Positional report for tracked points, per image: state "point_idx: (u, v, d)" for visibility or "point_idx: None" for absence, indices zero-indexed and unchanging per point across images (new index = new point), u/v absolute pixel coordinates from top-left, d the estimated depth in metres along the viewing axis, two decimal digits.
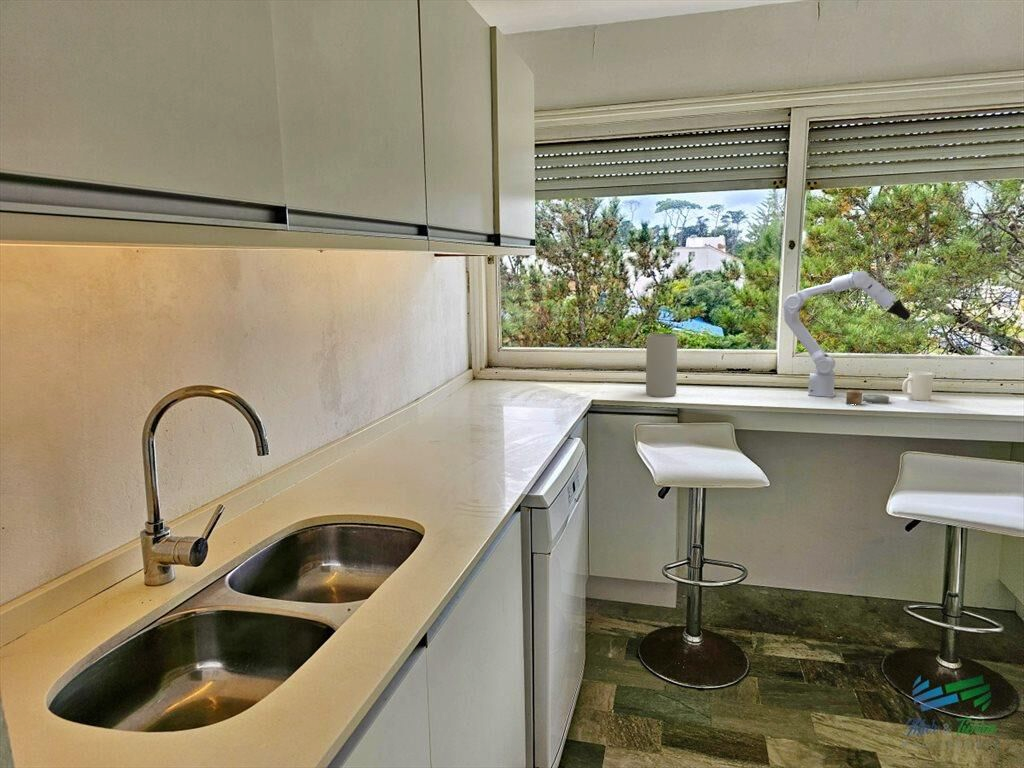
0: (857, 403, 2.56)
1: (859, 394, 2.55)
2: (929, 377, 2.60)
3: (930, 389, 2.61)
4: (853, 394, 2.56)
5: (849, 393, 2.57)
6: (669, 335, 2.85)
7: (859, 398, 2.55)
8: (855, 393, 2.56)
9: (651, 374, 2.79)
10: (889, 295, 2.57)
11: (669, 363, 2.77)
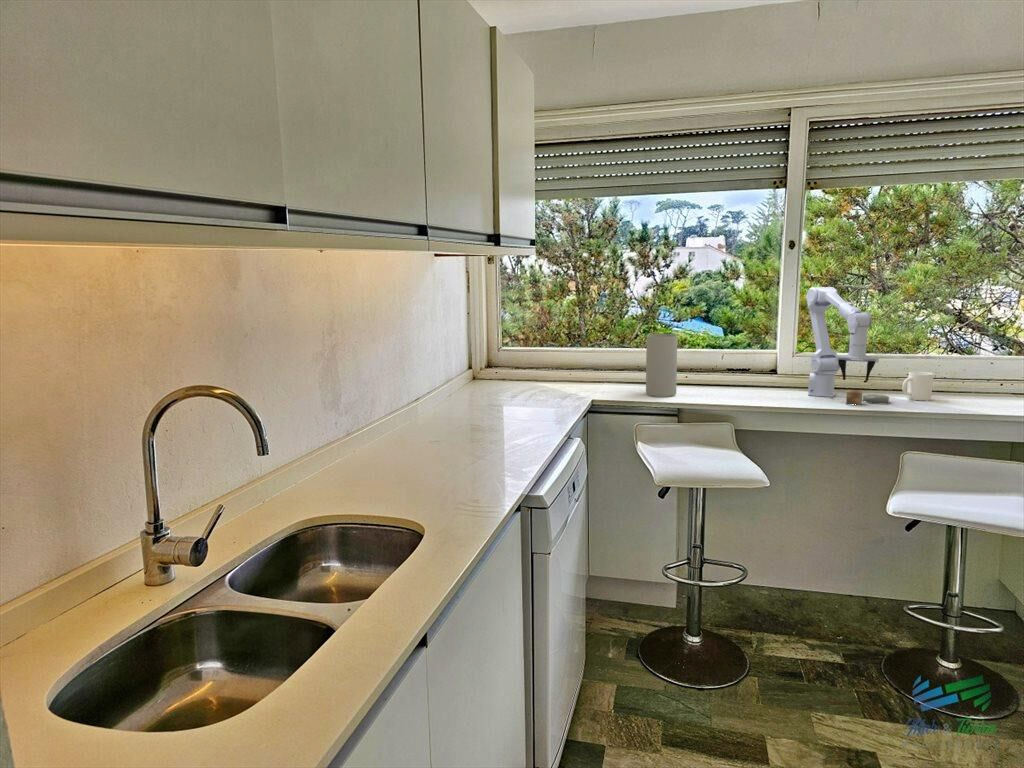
0: (857, 403, 2.56)
1: (859, 394, 2.55)
2: (929, 377, 2.60)
3: (930, 389, 2.61)
4: (853, 394, 2.56)
5: (849, 393, 2.57)
6: (669, 335, 2.85)
7: (859, 398, 2.55)
8: (855, 393, 2.56)
9: (651, 374, 2.79)
10: (850, 353, 2.55)
11: (669, 363, 2.77)
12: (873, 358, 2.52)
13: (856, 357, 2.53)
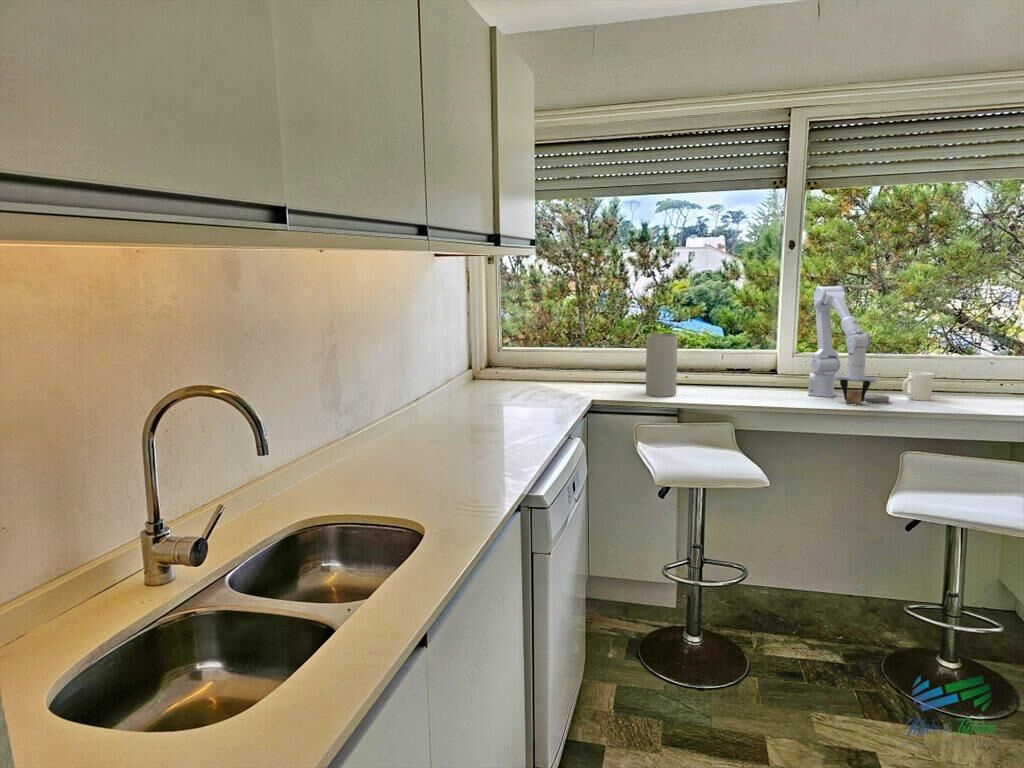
0: (857, 403, 2.56)
1: (859, 394, 2.55)
2: (929, 377, 2.60)
3: (930, 389, 2.61)
4: (853, 393, 2.56)
5: (849, 393, 2.57)
6: (669, 335, 2.85)
7: (859, 398, 2.55)
8: (855, 393, 2.56)
9: (651, 374, 2.79)
10: (849, 373, 2.56)
11: (669, 363, 2.77)
12: (872, 378, 2.53)
13: (855, 377, 2.54)
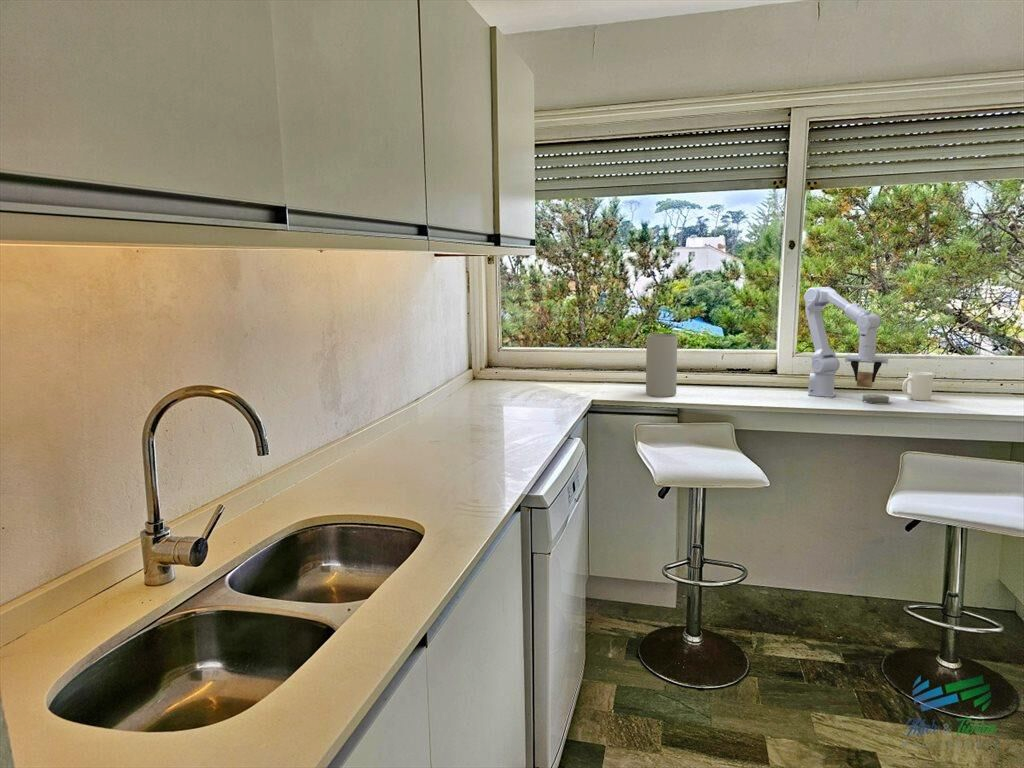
0: (868, 385, 2.56)
1: (870, 376, 2.55)
2: (929, 377, 2.60)
3: (930, 389, 2.61)
4: (864, 375, 2.56)
5: (860, 375, 2.57)
6: (669, 335, 2.85)
7: (870, 380, 2.55)
8: (866, 375, 2.56)
9: (651, 374, 2.79)
10: (860, 354, 2.56)
11: (669, 363, 2.77)
12: (883, 359, 2.53)
13: (865, 358, 2.54)
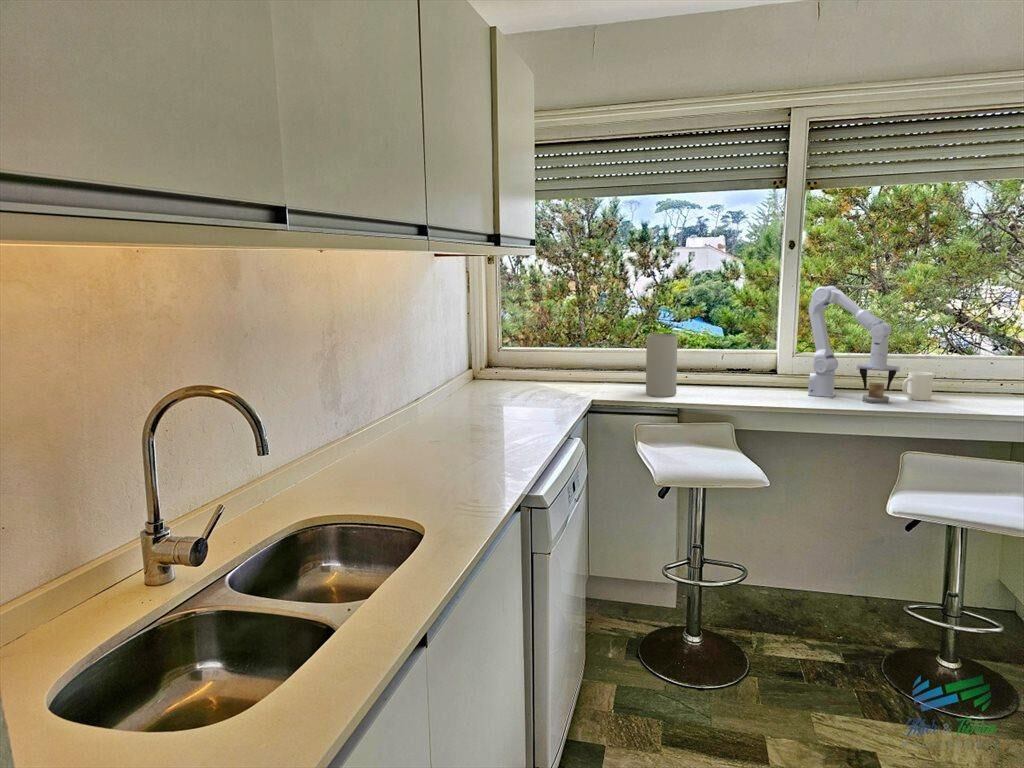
0: (879, 395, 2.59)
1: (882, 386, 2.58)
2: (929, 377, 2.60)
3: (930, 389, 2.61)
4: (876, 386, 2.59)
5: (871, 386, 2.59)
6: (669, 335, 2.85)
7: (881, 390, 2.58)
8: (877, 385, 2.58)
9: (651, 374, 2.79)
10: (872, 362, 2.59)
11: (669, 363, 2.77)
12: (894, 367, 2.56)
13: (877, 366, 2.57)
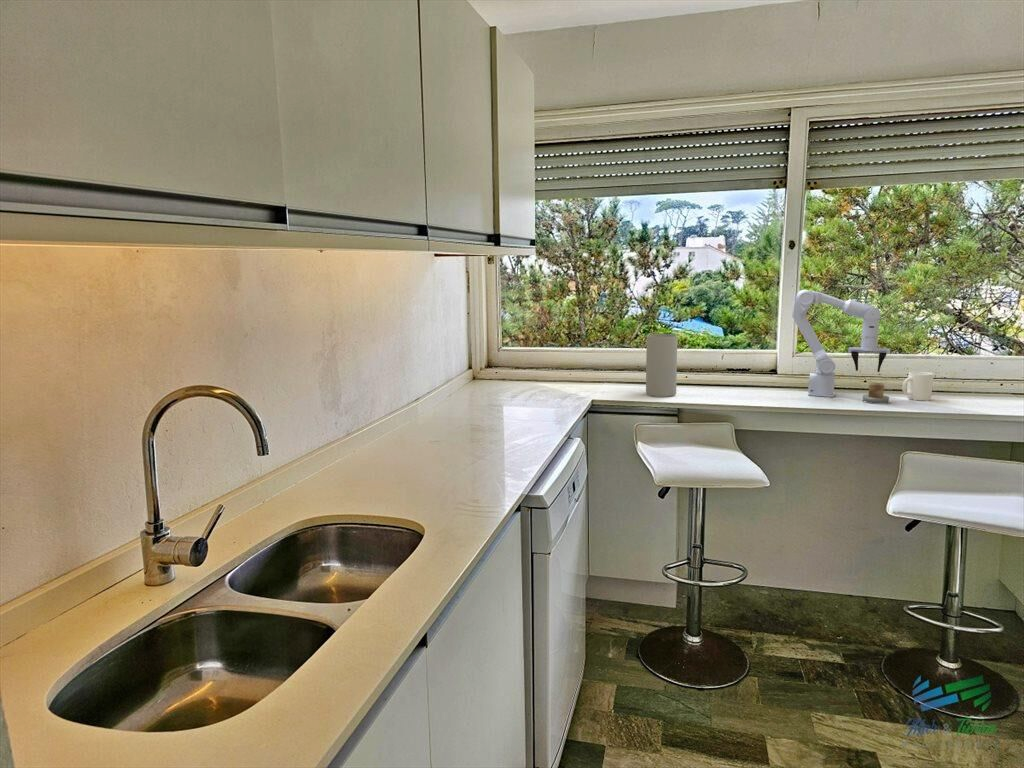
0: (879, 395, 2.59)
1: (882, 386, 2.58)
2: (929, 377, 2.60)
3: (930, 389, 2.61)
4: (876, 386, 2.59)
5: (871, 386, 2.59)
6: (669, 335, 2.85)
7: (882, 390, 2.58)
8: (878, 385, 2.58)
9: (651, 374, 2.79)
10: (863, 345, 2.67)
11: (669, 363, 2.77)
12: (884, 350, 2.65)
13: (868, 349, 2.65)
